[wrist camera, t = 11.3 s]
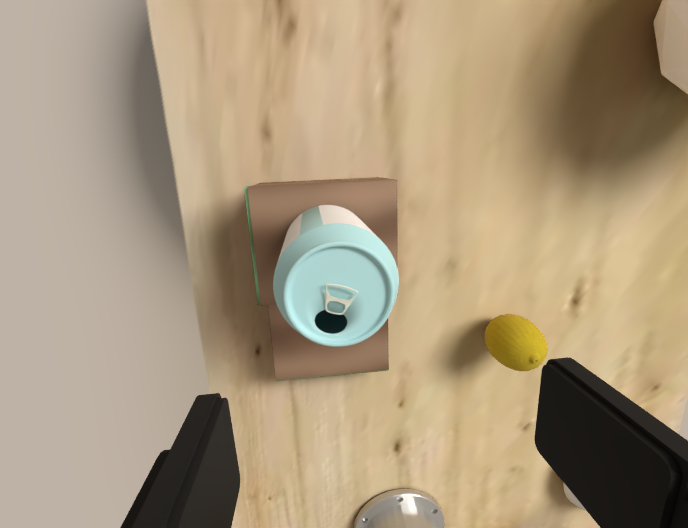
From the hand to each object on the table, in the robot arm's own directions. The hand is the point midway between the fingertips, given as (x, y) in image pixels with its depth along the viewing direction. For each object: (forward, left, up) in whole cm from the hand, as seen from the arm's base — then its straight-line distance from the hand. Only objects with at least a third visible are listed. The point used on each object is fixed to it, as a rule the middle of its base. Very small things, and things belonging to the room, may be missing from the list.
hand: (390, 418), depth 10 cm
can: (+1, +1, -21) cm, 21 cm away
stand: (-4, +1, -28) cm, 29 cm away
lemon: (-12, -19, -29) cm, 37 cm away
